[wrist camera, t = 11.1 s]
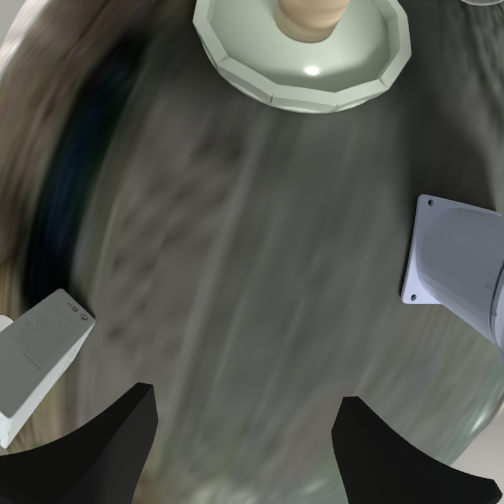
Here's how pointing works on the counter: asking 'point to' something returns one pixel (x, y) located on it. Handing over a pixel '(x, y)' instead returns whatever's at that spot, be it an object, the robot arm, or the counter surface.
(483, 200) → the counter surface
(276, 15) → the maple cylinder
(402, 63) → the round tray
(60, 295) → the skincare box
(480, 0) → the ceramic mug
